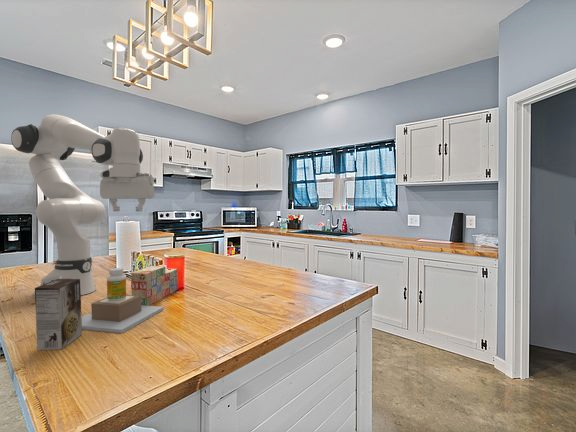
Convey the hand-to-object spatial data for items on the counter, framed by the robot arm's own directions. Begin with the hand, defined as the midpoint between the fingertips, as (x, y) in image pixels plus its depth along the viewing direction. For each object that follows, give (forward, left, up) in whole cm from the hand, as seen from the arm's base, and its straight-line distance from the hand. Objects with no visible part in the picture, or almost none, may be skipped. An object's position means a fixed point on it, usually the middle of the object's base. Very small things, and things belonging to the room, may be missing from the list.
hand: (127, 211), depth 113 cm
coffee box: (+4, -31, -34) cm, 47 cm away
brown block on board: (+6, -13, -34) cm, 37 cm away
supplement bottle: (+6, -13, -28) cm, 31 cm away
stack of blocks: (+5, +10, -34) cm, 36 cm away
